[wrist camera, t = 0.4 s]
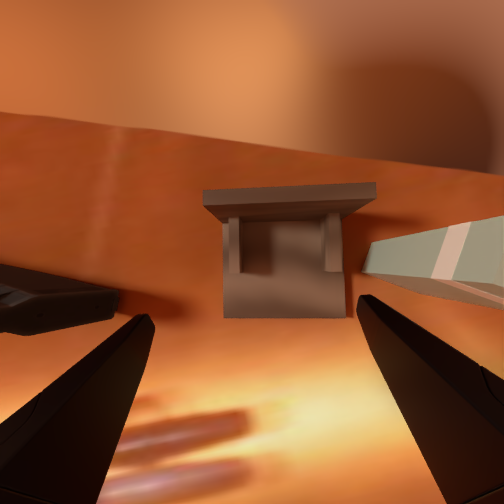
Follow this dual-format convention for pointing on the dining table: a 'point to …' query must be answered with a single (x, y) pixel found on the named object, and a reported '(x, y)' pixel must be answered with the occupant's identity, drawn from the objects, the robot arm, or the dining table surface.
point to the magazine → (50, 302)
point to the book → (446, 262)
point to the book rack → (285, 248)
